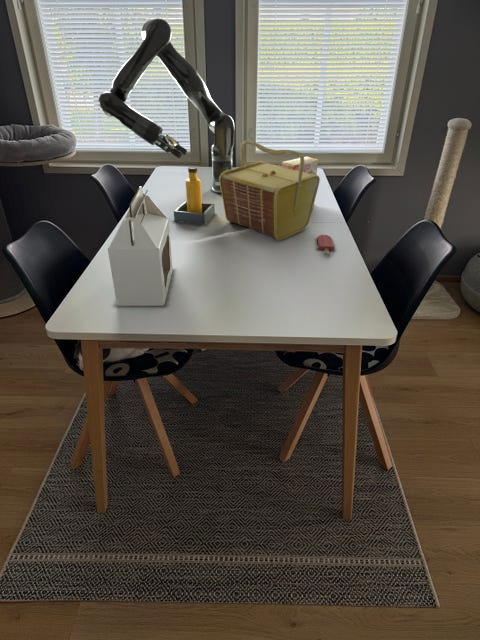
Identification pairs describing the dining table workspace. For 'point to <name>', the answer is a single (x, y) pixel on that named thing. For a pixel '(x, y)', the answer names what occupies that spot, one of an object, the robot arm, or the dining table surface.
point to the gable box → (141, 255)
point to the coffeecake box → (309, 165)
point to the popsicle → (325, 243)
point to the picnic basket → (269, 195)
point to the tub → (194, 214)
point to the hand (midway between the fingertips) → (183, 154)
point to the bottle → (193, 191)
